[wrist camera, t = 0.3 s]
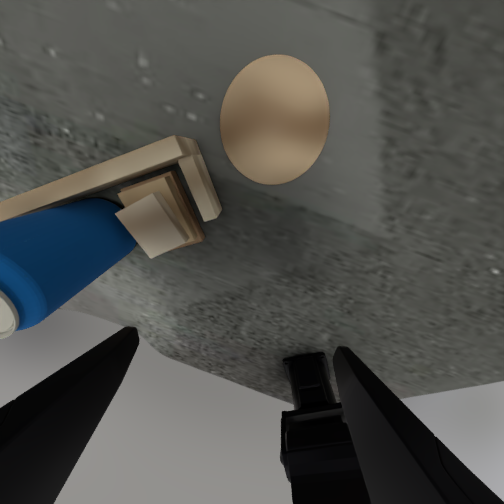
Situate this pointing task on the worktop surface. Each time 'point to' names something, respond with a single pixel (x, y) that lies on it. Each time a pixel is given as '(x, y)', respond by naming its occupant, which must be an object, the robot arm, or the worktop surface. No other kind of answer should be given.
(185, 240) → the offcut stack
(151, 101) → the worktop surface
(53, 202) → the rack
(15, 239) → the beverage can
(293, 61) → the cork coaster
